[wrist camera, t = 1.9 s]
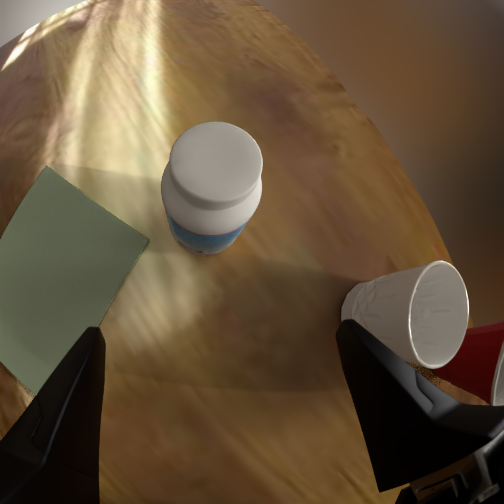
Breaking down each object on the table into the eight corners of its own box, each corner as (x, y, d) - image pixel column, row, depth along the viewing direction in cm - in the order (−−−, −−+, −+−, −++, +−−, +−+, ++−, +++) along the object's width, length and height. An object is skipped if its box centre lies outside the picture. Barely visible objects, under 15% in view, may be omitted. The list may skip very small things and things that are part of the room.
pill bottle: (253, 228, 24) (302, 173, 14) (198, 271, 23) (205, 244, 12) (211, 176, 24) (229, 95, 14) (156, 215, 23) (132, 148, 12)
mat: (57, 410, 17) (55, 413, 17) (-30, 320, 16) (-33, 320, 16) (149, 241, 22) (149, 239, 22) (48, 167, 21) (46, 165, 20)
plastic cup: (417, 410, 25) (490, 433, 14) (414, 330, 27) (500, 333, 15) (464, 376, 28) (528, 384, 16) (462, 306, 29) (532, 299, 18)
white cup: (322, 295, 25) (394, 290, 15) (381, 263, 27) (453, 245, 17) (350, 367, 24) (421, 390, 15) (403, 328, 26) (475, 331, 17)
